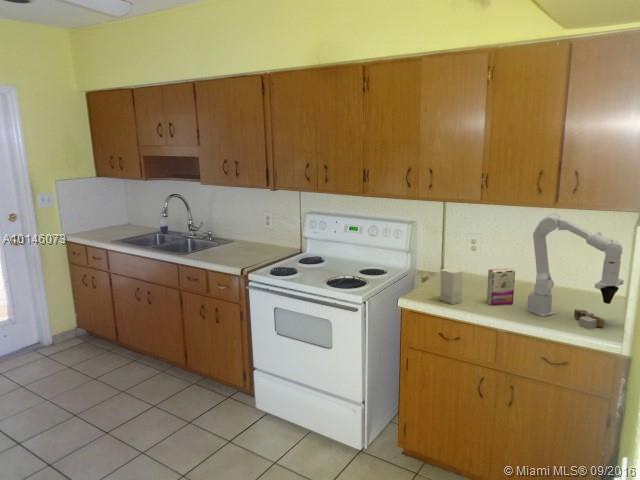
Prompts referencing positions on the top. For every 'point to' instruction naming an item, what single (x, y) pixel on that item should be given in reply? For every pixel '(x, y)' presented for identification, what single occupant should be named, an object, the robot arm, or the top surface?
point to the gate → (599, 321)
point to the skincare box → (451, 285)
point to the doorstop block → (588, 322)
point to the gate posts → (583, 315)
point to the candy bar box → (500, 286)
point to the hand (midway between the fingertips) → (606, 303)
